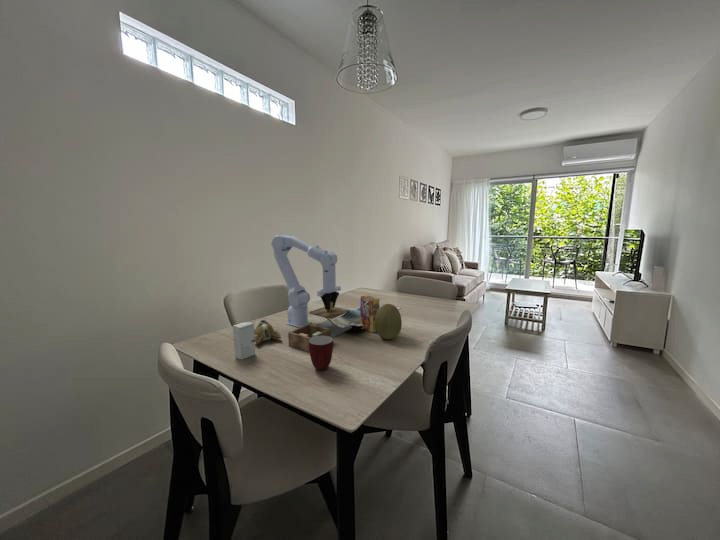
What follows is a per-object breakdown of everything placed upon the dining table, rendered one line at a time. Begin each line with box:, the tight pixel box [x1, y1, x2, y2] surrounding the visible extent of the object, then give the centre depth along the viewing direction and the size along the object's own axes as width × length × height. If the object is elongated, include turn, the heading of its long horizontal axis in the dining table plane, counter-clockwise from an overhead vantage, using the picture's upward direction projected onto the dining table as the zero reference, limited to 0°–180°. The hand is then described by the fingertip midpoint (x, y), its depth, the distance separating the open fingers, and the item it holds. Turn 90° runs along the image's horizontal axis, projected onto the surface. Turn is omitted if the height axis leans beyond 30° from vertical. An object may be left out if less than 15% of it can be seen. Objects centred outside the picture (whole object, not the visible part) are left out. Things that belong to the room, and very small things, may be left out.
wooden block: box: [308, 302, 351, 320], centre depth 133 cm, size 13×13×5 cm
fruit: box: [375, 303, 403, 340], centre depth 122 cm, size 11×11×15 cm
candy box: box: [360, 294, 380, 334], centre depth 133 cm, size 9×4×15 cm, turn 39°
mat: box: [315, 319, 353, 339], centre depth 135 cm, size 16×16×1 cm
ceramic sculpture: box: [253, 318, 282, 344], centre depth 122 cm, size 11×9×15 cm
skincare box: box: [232, 321, 256, 361], centre depth 106 cm, size 6×4×12 cm
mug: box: [308, 336, 334, 372], centre depth 96 cm, size 10×8×10 cm
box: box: [287, 323, 332, 353], centre depth 118 cm, size 12×12×6 cm
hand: (329, 308), depth 134 cm, fingers closed on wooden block, 3 cm apart
